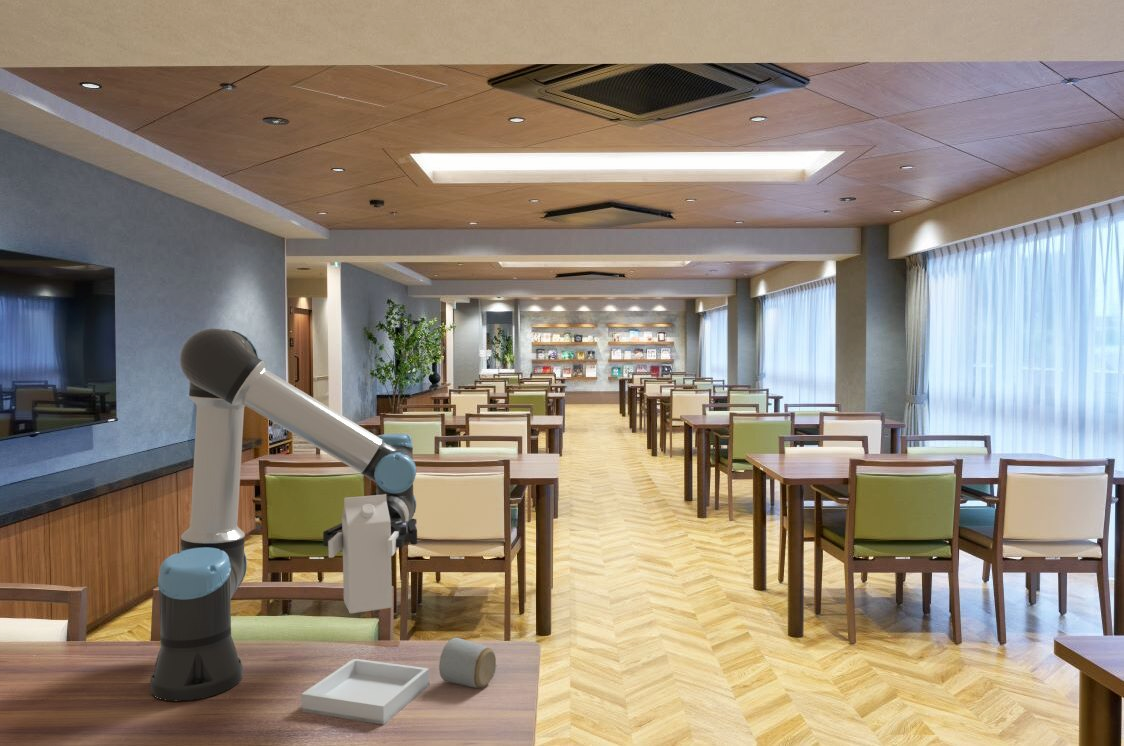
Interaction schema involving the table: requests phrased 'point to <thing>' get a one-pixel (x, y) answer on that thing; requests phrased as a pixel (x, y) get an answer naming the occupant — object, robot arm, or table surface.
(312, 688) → the tray
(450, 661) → the ceramic mug
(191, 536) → the robot arm
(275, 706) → the table surface
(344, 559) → the milk carton
